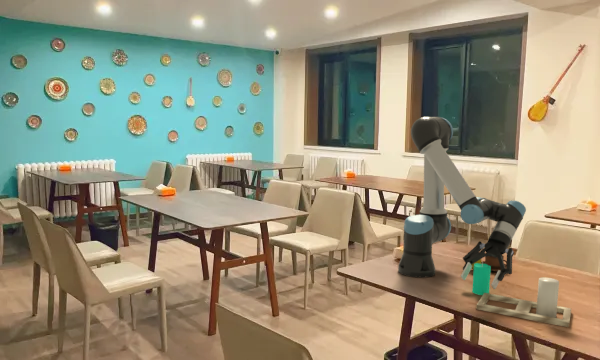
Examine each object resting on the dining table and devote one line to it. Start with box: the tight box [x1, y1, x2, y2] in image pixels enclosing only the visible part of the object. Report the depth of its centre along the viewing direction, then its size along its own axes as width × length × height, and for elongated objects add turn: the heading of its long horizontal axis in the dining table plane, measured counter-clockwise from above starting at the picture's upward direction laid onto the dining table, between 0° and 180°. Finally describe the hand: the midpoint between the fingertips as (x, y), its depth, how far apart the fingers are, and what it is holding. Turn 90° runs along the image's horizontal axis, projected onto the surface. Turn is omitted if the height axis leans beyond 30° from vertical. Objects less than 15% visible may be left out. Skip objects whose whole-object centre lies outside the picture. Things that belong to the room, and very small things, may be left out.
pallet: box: [475, 292, 572, 328], centre depth 171 cm, size 28×14×2 cm, turn 60°
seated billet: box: [535, 277, 560, 318], centre depth 167 cm, size 6×6×12 cm
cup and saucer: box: [481, 254, 507, 272], centre depth 218 cm, size 12×12×6 cm
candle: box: [471, 260, 492, 296], centre depth 188 cm, size 6×6×12 cm
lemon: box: [471, 259, 482, 271], centre depth 215 cm, size 6×6×8 cm
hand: (477, 282), depth 186 cm, fingers open, 12 cm apart
